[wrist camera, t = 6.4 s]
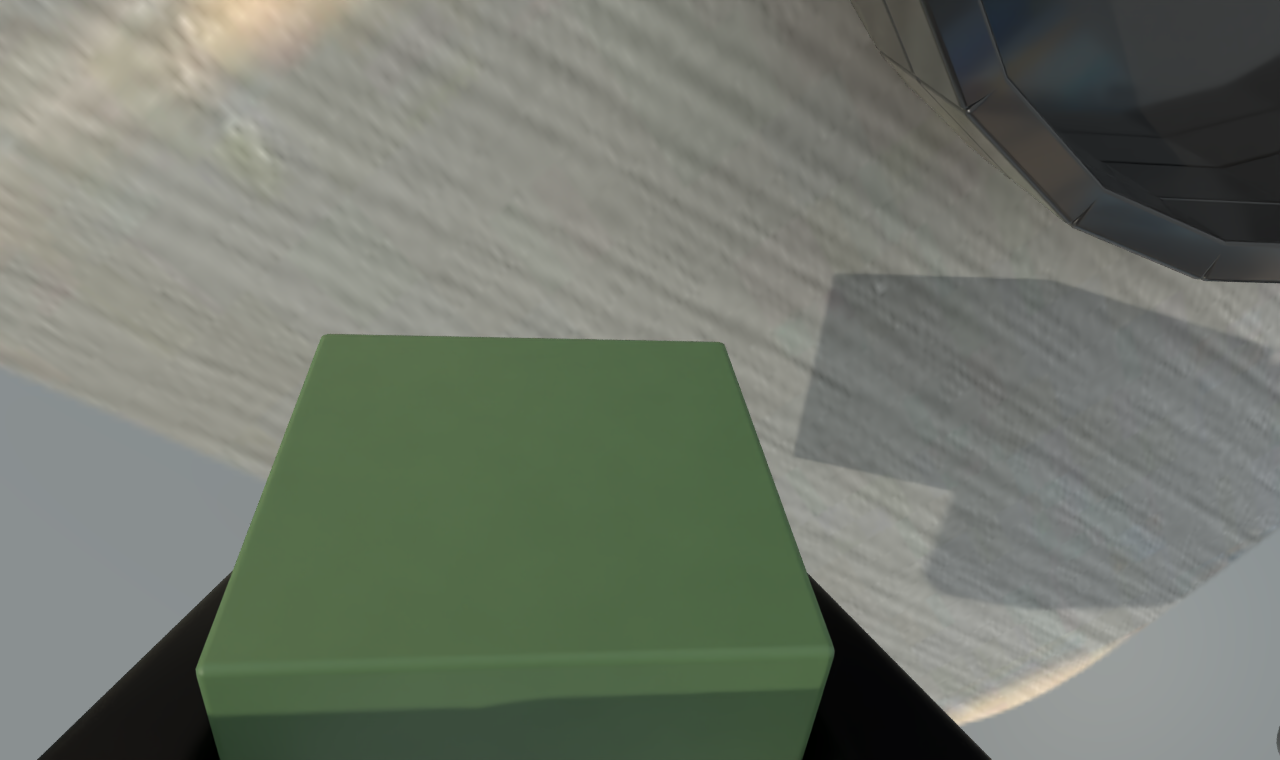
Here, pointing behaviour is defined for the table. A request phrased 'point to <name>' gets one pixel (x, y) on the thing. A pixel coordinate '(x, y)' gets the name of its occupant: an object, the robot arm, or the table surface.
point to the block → (517, 564)
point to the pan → (1114, 114)
